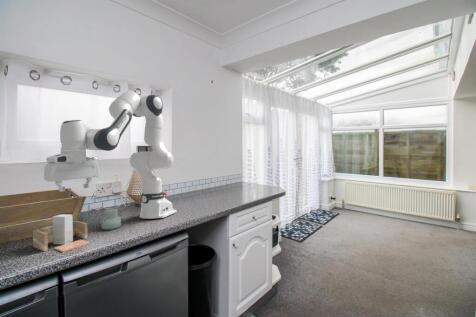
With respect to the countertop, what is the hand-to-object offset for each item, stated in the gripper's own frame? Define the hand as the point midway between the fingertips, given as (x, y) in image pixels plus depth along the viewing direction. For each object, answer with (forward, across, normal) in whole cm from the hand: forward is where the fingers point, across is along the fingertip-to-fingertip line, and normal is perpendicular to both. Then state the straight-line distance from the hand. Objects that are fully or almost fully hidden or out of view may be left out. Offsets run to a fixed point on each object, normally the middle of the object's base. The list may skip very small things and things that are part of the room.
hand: (74, 189), depth 97 cm
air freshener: (+24, -20, -6) cm, 32 cm away
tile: (+23, +2, +2) cm, 24 cm away
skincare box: (+24, +2, -6) cm, 25 cm away
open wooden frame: (+24, +2, -6) cm, 24 cm away
